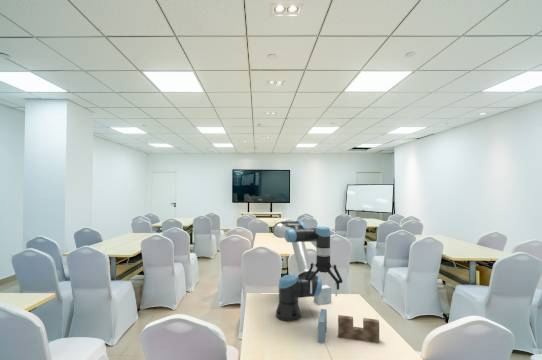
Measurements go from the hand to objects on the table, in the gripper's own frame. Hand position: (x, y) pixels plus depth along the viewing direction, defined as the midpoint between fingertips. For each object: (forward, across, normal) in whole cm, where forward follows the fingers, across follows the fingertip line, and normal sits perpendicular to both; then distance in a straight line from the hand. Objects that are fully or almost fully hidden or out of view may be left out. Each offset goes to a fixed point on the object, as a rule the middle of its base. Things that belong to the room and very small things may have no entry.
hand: (323, 294), depth 152 cm
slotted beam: (+19, +18, -4) cm, 27 cm away
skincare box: (+19, -4, +39) cm, 43 cm away
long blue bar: (+19, 0, -5) cm, 20 cm away
